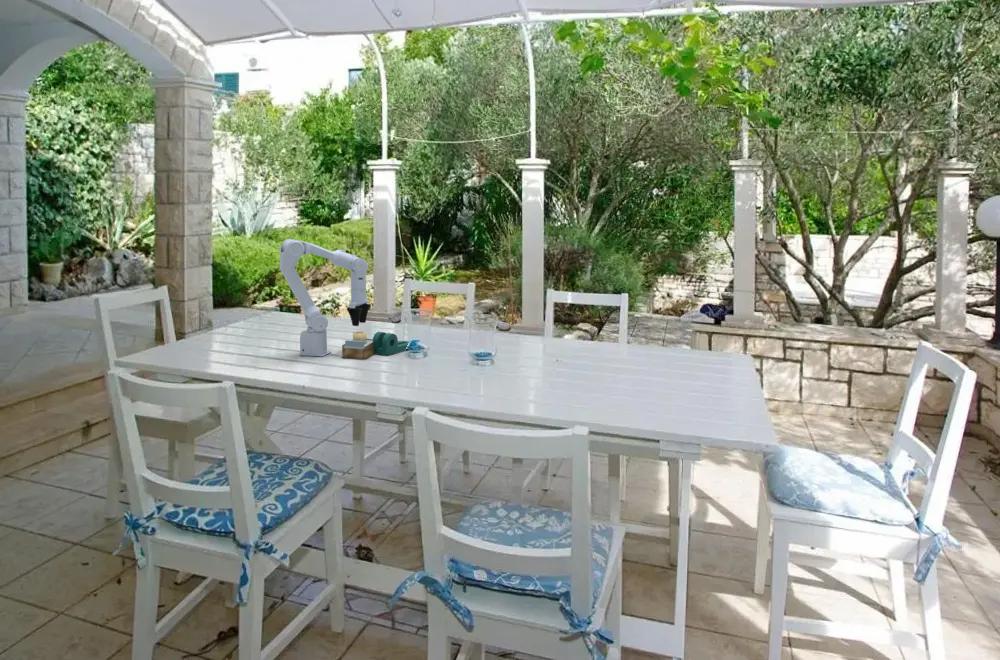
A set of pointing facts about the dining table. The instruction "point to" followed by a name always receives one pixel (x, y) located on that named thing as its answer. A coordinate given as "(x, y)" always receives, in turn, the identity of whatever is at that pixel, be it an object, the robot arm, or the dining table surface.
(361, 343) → the lid
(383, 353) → the bracket
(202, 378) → the dining table surface
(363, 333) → the tape roll
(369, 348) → the pencil box
